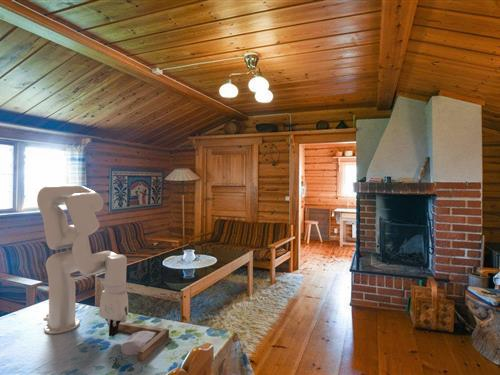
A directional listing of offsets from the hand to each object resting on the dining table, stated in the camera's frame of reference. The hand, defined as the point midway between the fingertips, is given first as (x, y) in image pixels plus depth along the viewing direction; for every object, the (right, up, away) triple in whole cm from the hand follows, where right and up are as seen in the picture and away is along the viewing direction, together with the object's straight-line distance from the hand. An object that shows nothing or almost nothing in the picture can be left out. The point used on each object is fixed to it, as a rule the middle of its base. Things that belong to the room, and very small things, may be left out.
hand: (113, 334), depth 116 cm
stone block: (+10, -4, -2) cm, 11 cm away
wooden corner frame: (+6, -3, 0) cm, 7 cm away
